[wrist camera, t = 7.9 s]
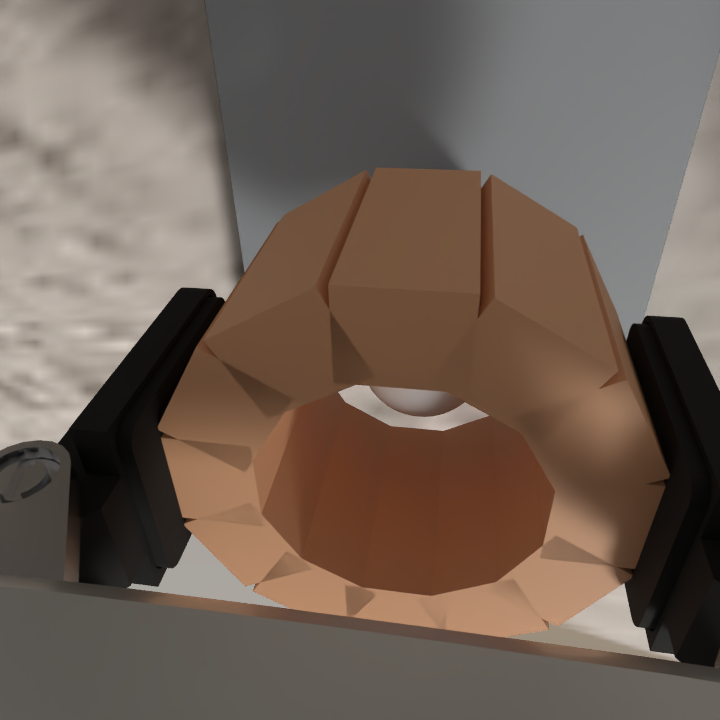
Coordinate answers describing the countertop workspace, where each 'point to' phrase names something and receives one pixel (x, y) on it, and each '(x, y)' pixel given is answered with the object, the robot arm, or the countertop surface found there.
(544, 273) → the ring
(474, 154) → the post block
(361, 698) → the robot arm
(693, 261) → the countertop surface
